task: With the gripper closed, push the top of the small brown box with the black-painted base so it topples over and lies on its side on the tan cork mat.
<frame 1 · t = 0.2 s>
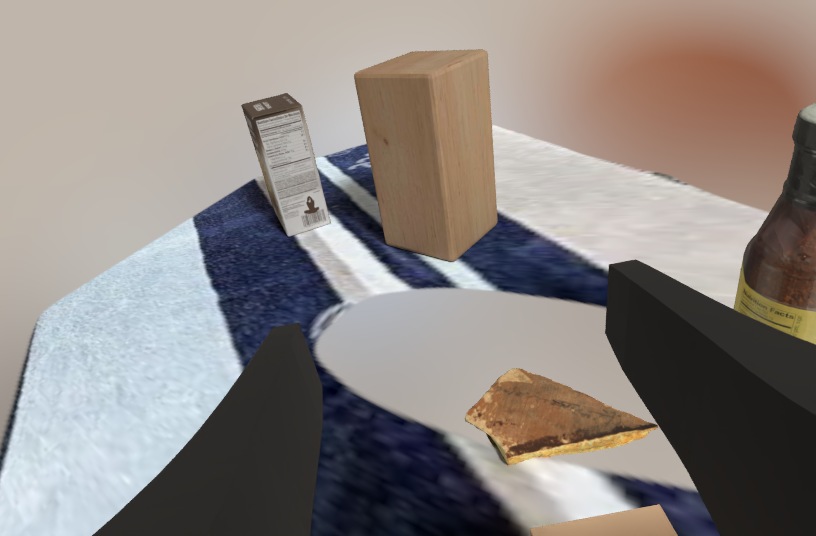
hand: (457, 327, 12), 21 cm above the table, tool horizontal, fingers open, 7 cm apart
coffee box: (303, 220, 71), on the table
wooden block: (442, 236, 61), on the table
shard: (547, 416, 37), on the table
sauce bottle: (766, 407, 34), on the table
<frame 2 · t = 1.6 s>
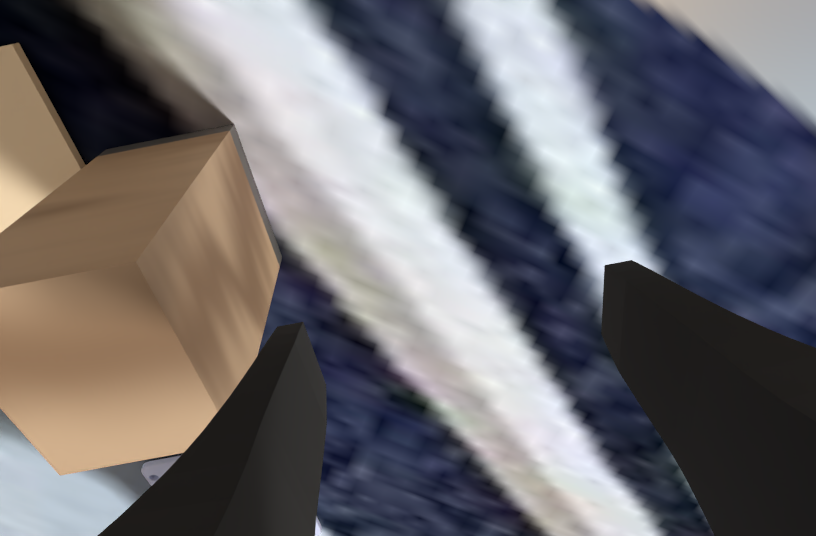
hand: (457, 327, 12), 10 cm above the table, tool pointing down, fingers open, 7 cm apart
small brown box: (200, 207, 21), on the table
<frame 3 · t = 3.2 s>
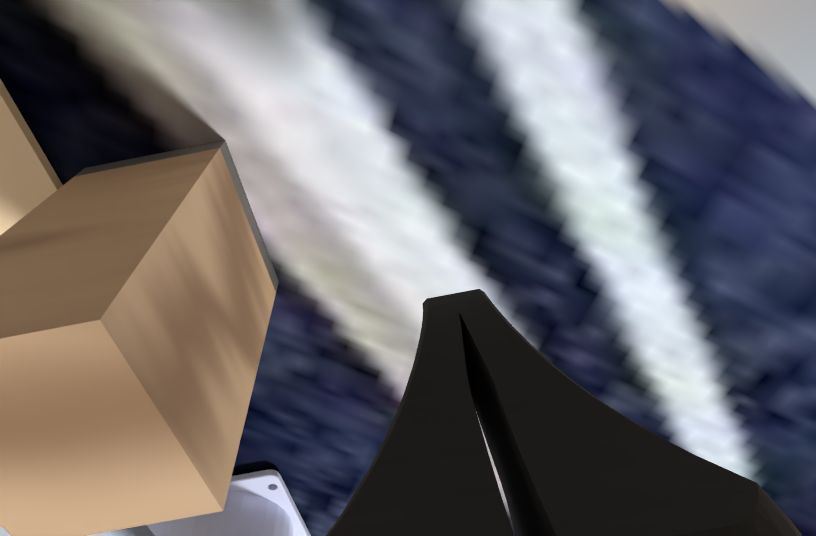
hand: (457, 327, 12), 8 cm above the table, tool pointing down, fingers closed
small brown box: (189, 229, 19), on the table
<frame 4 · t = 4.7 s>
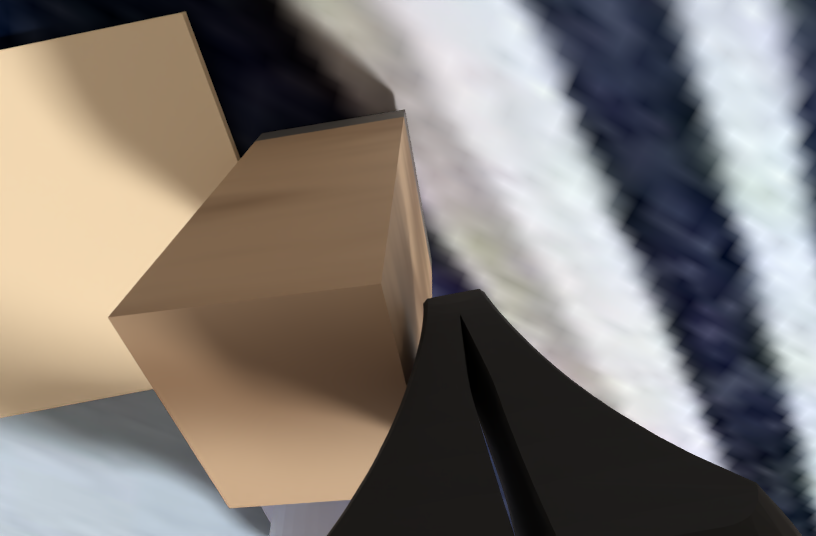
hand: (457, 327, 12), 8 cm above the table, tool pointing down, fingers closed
cork mat: (68, 253, 19), on the table
small brown box: (352, 201, 19), on the table, tilted 7°
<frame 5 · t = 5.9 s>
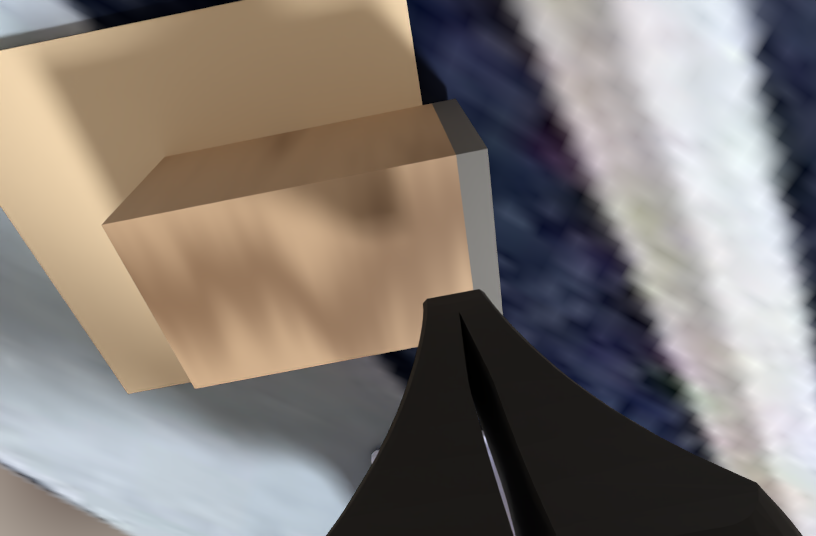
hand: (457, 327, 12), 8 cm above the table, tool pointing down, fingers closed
cork mat: (237, 221, 19), on the table
small brown box: (479, 211, 16), point 3 cm above the table, tilted 90°, touching cork mat
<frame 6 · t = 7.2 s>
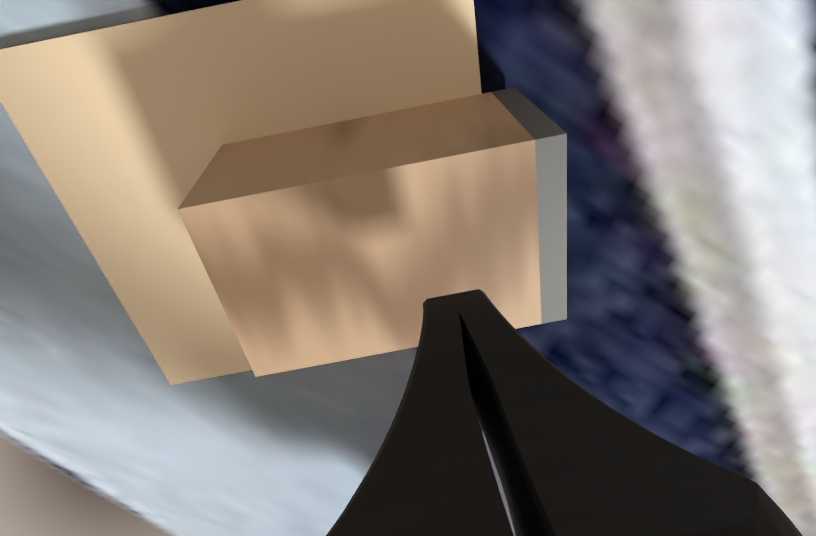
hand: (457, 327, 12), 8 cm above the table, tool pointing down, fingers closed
cork mat: (289, 210, 19), on the table
small brown box: (539, 199, 16), point 3 cm above the table, tilted 90°, touching cork mat
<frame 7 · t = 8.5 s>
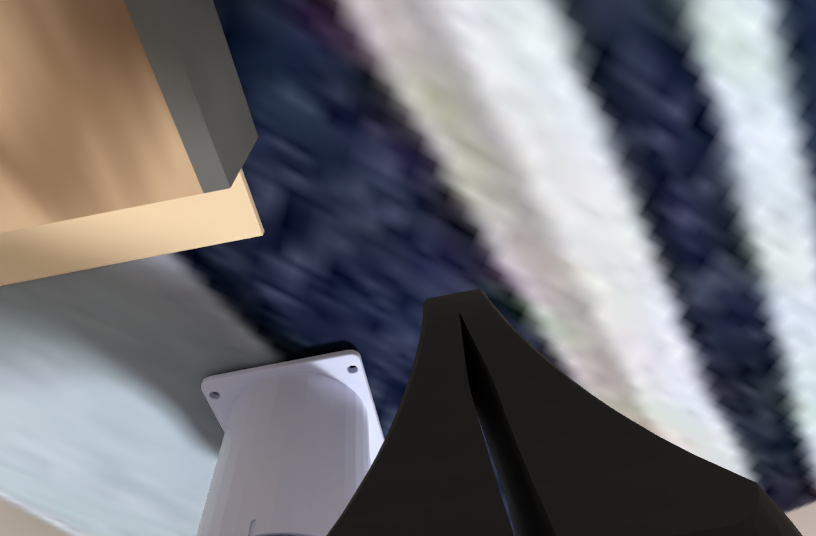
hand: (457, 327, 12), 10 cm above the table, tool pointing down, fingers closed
small brown box: (212, 65, 15), point 3 cm above the table, tilted 90°, touching cork mat
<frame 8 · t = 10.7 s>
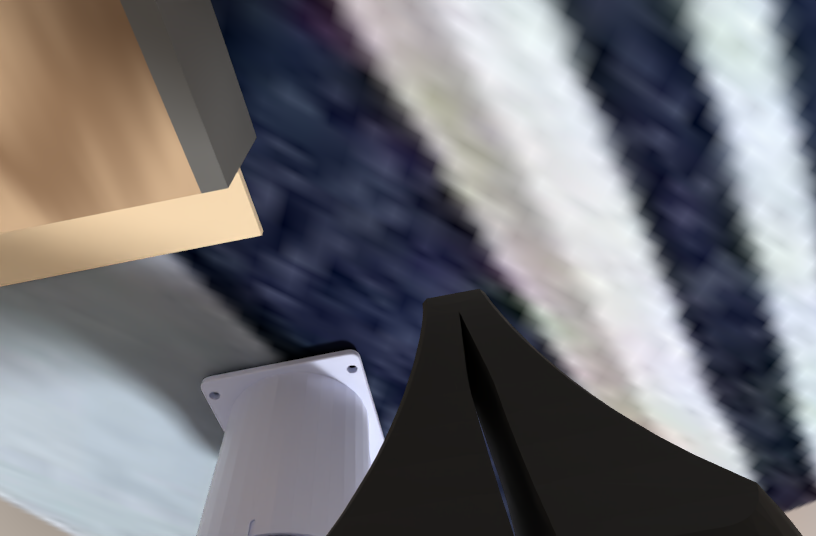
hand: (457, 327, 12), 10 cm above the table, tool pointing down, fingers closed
small brown box: (210, 65, 15), point 3 cm above the table, tilted 90°, touching cork mat
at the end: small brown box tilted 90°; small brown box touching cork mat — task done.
